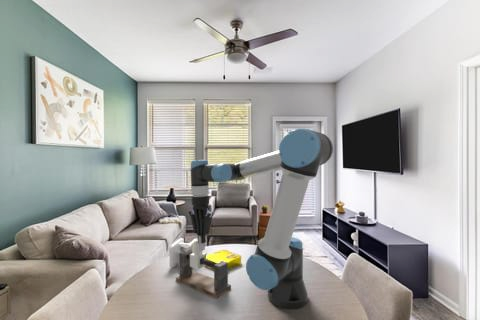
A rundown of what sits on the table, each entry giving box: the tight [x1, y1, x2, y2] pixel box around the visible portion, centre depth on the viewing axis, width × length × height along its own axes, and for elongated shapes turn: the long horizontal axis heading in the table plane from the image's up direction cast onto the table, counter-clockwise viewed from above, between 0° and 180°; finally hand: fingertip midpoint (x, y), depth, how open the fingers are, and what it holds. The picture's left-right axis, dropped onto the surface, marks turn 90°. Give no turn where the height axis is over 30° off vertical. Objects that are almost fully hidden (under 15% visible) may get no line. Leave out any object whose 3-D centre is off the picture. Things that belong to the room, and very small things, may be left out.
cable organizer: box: [168, 237, 198, 268], centre depth 126 cm, size 15×11×12 cm
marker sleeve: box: [190, 240, 208, 270], centre depth 106 cm, size 5×5×11 cm
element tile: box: [205, 249, 242, 271], centre depth 126 cm, size 15×15×5 cm
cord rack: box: [175, 244, 232, 299], centre depth 104 cm, size 24×9×14 cm, turn 54°
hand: (201, 250), depth 105 cm, fingers closed
